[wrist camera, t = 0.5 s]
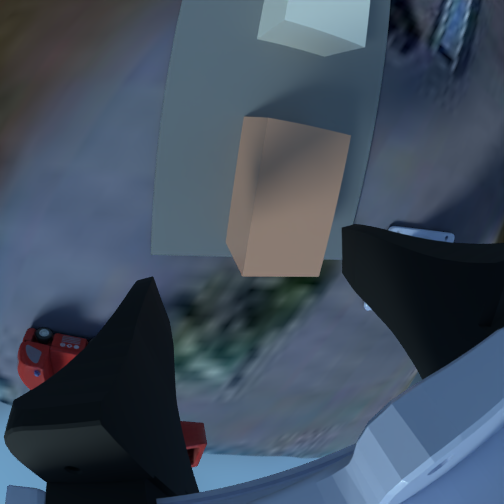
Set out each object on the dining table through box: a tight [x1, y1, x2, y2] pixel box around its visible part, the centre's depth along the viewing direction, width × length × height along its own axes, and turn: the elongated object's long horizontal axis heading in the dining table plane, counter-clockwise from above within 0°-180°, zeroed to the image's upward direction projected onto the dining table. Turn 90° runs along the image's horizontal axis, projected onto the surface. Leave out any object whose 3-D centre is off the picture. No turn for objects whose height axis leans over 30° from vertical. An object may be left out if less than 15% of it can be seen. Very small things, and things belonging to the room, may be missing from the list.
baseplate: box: [151, 0, 390, 260], centre depth 17 cm, size 14×24×1 cm, turn 171°
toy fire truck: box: [17, 327, 207, 467], centre depth 18 cm, size 3×14×10 cm, turn 73°
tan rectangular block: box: [226, 117, 351, 277], centre depth 17 cm, size 4×8×4 cm, turn 171°
